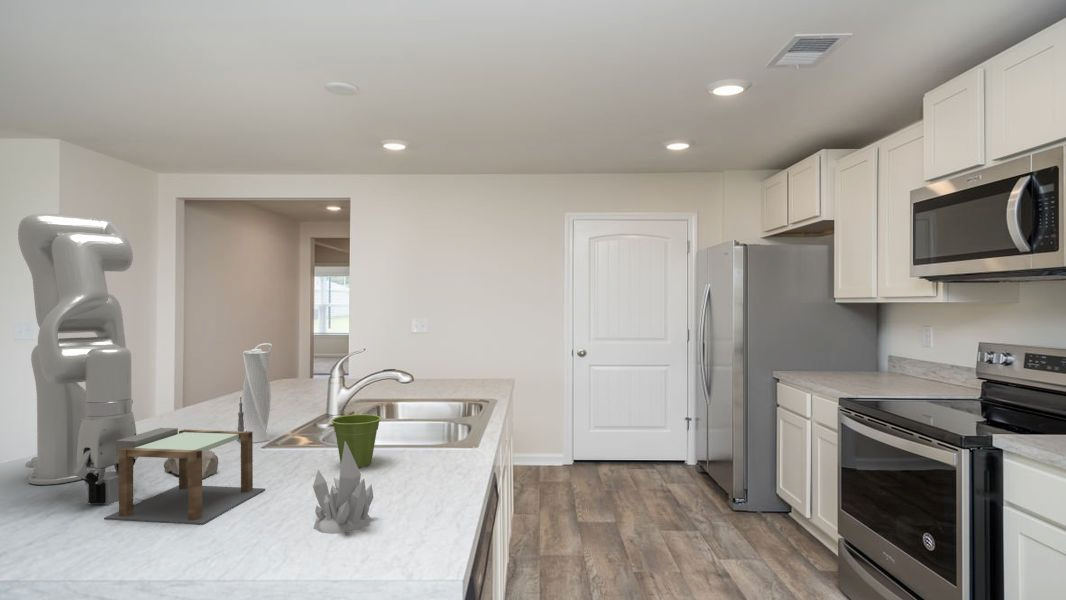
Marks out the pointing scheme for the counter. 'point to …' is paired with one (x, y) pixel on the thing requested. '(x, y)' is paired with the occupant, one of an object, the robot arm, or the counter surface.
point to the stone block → (110, 487)
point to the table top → (175, 505)
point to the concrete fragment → (208, 464)
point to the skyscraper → (255, 395)
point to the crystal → (342, 499)
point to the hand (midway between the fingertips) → (109, 497)
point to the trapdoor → (175, 440)
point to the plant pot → (357, 436)
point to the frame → (182, 471)
